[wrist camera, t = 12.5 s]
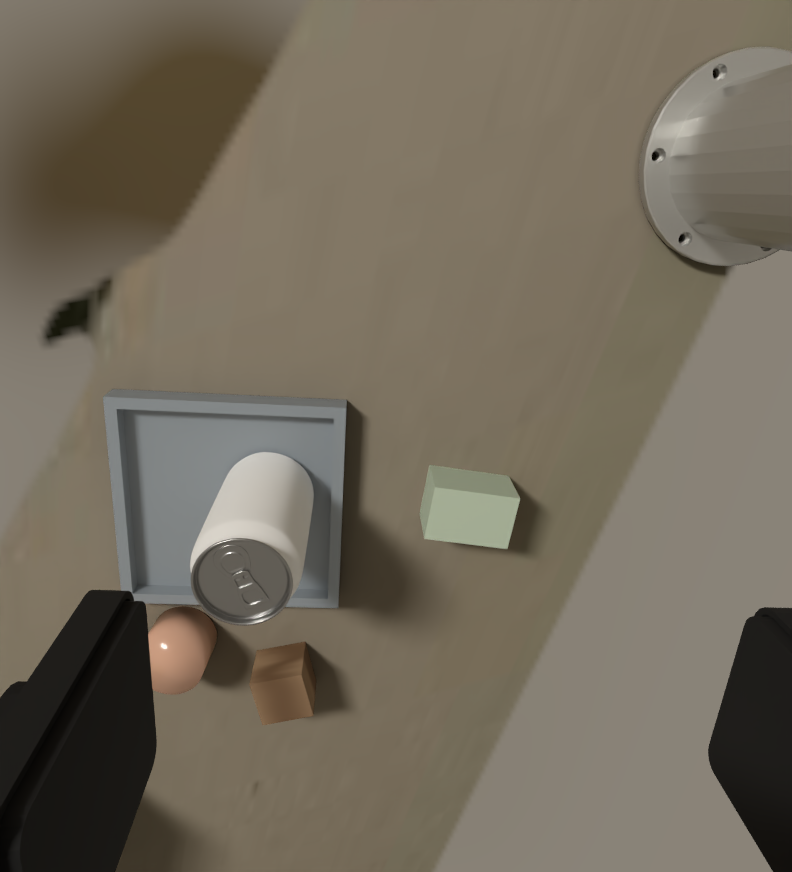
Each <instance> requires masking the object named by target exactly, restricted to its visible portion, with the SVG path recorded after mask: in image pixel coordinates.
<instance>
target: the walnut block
mask: <svg viewBox="0 0 792 872" xmlns="http://www.w3.org/2000/svg"><path fill="white" fill-rule="evenodd" d="M249 685H250V688H251V691H252V694H253V697H254V700H255V703H256V706H257V709H258V713H259V716H260V719H261V722H262V725H267V724H272V723H278V722H283V721H288V720H294V719H299V718H305V717H310V716H313V714H314V703H315V691H316V677H315V674H314V670H313V667H312V663H311V660H310V656H309V653H308V649H307V646H306V642H301V643H296V644H290V645H285V646H279V647H274V648H268V649H263V650H258V651H257V652H256V657H255V661H254V666H253V670H252V675H251V679H250V684H249Z"/></svg>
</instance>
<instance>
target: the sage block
mask: <svg viewBox="0 0 792 872" xmlns="http://www.w3.org/2000/svg"><path fill="white" fill-rule="evenodd" d="M519 502H520V497H519V495H518V493H517V491H516V489H515V487H514V485H513V483H512V481H511V480H510V478H509V476H506V475H499V474H492V473H484V472H477V471H470V470H463V469H455V468H448V467H441V466H434V465H429V470H428V474H427V479H426V484H425V489H424V494H423V499H422V504H421V509H420V518H421V524H422V529H423V535H424V539H430V540H438V541H446V542H454V543H462V544H470V545H478V546H486V547H494V548H502V549H508V545H509V541H510V537H511V533H512V529H513V525H514V521H515V517H516V514H517V510H518V506H519Z"/></svg>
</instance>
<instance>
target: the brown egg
mask: <svg viewBox="0 0 792 872" xmlns="http://www.w3.org/2000/svg"><path fill="white" fill-rule="evenodd" d="M148 638H149V651H150V664H151V676H152V689H153V690H155V691H157V692H160V693H164V694H181V693H184V692H187V691H189V690H191V689H192V688H194V687H195V686H196V685H197V684H198V682H199V681H200V679H201V677H202V675H203V673H204V670H205V668H206V666H207V663H208V661H209V658H210V656H211V654H212V651H213V649H214V647H215V644H216V641H217V631H216V628H215V626H214V624H213V622H212V621H211V619H210V618H209V617H208V616H207V615H206V614H204V613H203V612H201V611H199V610H197V609H195V608H191V607H184V606H182V607H174V608H171V609H169V610H167V611H165V612H163V613H162V614H161V615H160V616H159V617H158V619H157V620H156V622H155V623H154V625H153V627H152V628H151V630H150V631H149V633H148Z"/></svg>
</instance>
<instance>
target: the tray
mask: <svg viewBox="0 0 792 872" xmlns="http://www.w3.org/2000/svg"><path fill="white" fill-rule="evenodd" d="M103 402H104V413H105V423H106V434H107V445H108V455H109V466H110V477H111V488H112V498H113V509H114V520H115V530H116V541H117V552H118V563H119V573H120V584H121V591H130V592H131V593H132V594H133V597H134V601H143V602H144V603H152V604H192V605H199V603H198V602H197V600H196V599H195V597H194V594H193V591H192V588H191V570H190V560H191V555H192V551H193V548H194V545H195V543H196V541H197V538H198V536H199V534H200V532H201V529H202V527H203V525H204V523H205V521H206V519H207V516H208V514H209V512H210V510H211V508H212V506H213V504H214V501H215V499H216V497H217V495H218V493H219V491H220V489H221V487H222V484H223V482H224V480H225V478H226V476H227V475H228V473H229V471H230V470H231V469H232V467H233V466H234V465H235V464H236V463H238V462H239V461H240V460H242V459H244V458H245V457H247V456H249V455H252V454H255V453H259V452H272V453H278V454H282V455H285V456H287V457H289V458H291V459H293V460H294V461H296V462H297V463H298V464H300V465H301V466H302V467H303V468H304V470H305V471H306V472H307V474H308V475H309V477H310V479H311V482H312V485H313V490H314V500H313V508H312V515H311V522H310V529H309V535H308V542H307V548H306V555H305V561H304V567H303V572H302V577H301V580H300V583H299V586H298V588H297V590H296V591H295V593H294V594H293V596H292V597H291V598H290V599H289V601H288V603H287V605H286V606H285V607H312V608H338V603H339V581H340V556H341V531H342V506H343V482H344V457H345V432H346V407H347V400H337V399H315V398H294V397H272V396H251V395H229V394H208V393H186V392H165V391H143V390H121V389H112V390H111V391H110V392H108V393H107V394H106V395H105V396H103Z"/></svg>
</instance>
